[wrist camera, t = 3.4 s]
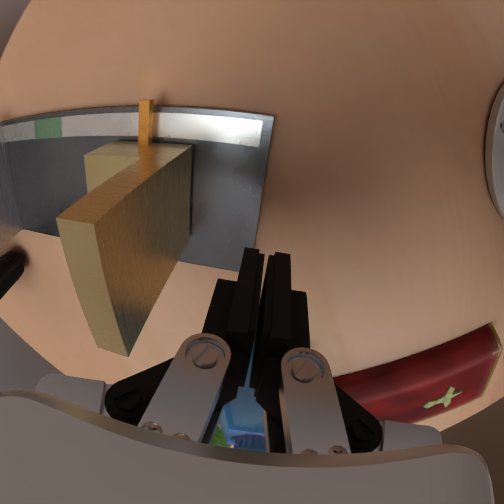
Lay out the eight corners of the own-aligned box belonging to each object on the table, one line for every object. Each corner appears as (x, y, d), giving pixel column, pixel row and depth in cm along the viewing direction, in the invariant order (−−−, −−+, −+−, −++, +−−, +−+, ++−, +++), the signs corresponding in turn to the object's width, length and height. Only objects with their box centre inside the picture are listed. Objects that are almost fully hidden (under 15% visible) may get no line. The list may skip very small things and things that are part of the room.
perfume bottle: (233, 328, 24) (203, 464, 14) (305, 338, 23) (302, 475, 13) (230, 367, 27) (207, 478, 17) (291, 375, 27) (283, 487, 17)
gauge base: (274, 115, 14) (267, 131, 9) (251, 264, 20) (238, 331, 15) (1, 121, 15) (-50, 144, 10) (17, 221, 20) (-22, 255, 15)
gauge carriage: (196, 99, 13) (84, 131, 5) (189, 240, 17) (128, 357, 10) (114, 100, 13) (-15, 141, 5) (120, 228, 18) (40, 323, 10)
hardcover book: (306, 378, 28) (305, 413, 24) (489, 318, 21) (504, 348, 17) (331, 417, 33) (332, 444, 29) (474, 373, 26) (482, 398, 23)
